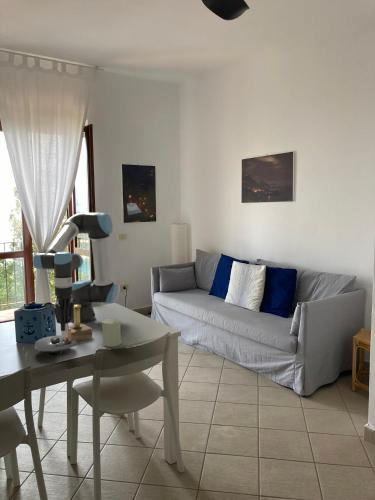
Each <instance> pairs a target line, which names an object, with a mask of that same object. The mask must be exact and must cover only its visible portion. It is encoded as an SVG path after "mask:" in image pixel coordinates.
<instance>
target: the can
mask: <svg viewBox="0 0 375 500" xmlns="http://www.w3.org/2000/svg"><path fill="white" fill-rule="evenodd" d="M101 323H102V324H101V325H102V327H101V328H102V329H101V330H102V343H101V344H102V345H103V346H104V347H110V348H111V347H112V348H113V347H117V346H120V345H121V344H122V340H121V339H122V337H121V333H122V331H121V326H122V325H121V319H119V318H105V319H102V321H101Z"/></svg>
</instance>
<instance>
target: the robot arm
mask: <svg viewBox="0 0 375 500" xmlns="http://www.w3.org/2000/svg"><path fill="white" fill-rule="evenodd" d="M113 227H114V226H113V221H112V218H111V216H110V215H109V214H108V213H107V212H79V213H75V214H74V215H72V216H70V217H69V218H68V219H66V220H65V221H64V222H63V223H62V225H61V228H60V231H59V232H58V233H57V234H56V235H55V237H54V238H53V240H52V241H51V242H50V244H48V246H47V247H46V249H45V250H44V251H43V252H42V253H40V252H39V253H35V254H34V256H33V258H32V264H33V267H34V268H35V269H37V270H42V271H43V270H54V286H55V287H54V294H55V296H56V299H55V303H52V304H51V306H52V308H53V310H54V315H55V321H56V323H57V324H60V332H61V335H62V337H64V338H67V337H68V326H69V324H70V323H74V308H73V307H74V305H76V304H80V305H81V308H80V324H83V323H88V322H93V321H94V320H95V319H96V313H95V309H94V308H93V307H94V306H93V303H94V304H113V303H114V302H115V300H116V298H117V294H118V284H117V283H115V282H114V278H112V277H111V269H110V259H109V258H110V257H109V255H110V254H109V246H108V238H109V237H110V235H111V234H112V232H113ZM79 234H86V235H88V239H89V240H91V249H92V257H93V268H94V269H93V270H94V277H95V278H94V280H93V281H92V279H84V280H76V281H74V282H73V271H76V270H77V269H79V268H81V267H82V266H83V263H84V260H83V257H82V255H80V254H79V253H75V252H74V253H72V252H70V251H65V250H66V249H67V247H68V246H69V244H70V243H72V241H73V239H74V238H75V237H77V236H78V235H79Z"/></svg>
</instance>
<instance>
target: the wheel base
mask: <svg viewBox="0 0 375 500" xmlns="http://www.w3.org/2000/svg"><path fill="white" fill-rule="evenodd" d="M60 352H61V353H62V352H63V351H57V352H48V353H49V354H50V353H51V354H50V355H57V353H59V354H61V353H60Z"/></svg>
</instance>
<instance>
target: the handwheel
mask: <svg viewBox="0 0 375 500" xmlns="http://www.w3.org/2000/svg"><path fill="white" fill-rule="evenodd" d="M74 346H76V342H75V339H74V338H73V337H71V328H68V337H67V338H64V337H62V335H50V336H46V337H42V338H40V339H37V340H36V341H35V342H34V348H35V350H37V351H38V352H44V353H49V352H57V351H62V352H63V351H66V350H69V349H71V348H73V347H74Z"/></svg>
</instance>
